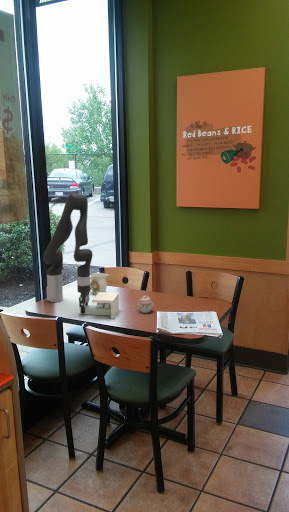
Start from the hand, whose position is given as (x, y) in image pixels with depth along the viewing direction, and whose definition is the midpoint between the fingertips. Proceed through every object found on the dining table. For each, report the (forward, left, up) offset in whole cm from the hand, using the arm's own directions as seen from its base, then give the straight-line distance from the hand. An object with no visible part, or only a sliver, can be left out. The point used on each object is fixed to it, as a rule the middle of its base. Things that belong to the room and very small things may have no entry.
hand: (84, 311), depth 240 cm
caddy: (+7, 0, -1) cm, 7 cm away
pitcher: (-2, +41, -1) cm, 41 cm away
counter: (+13, 0, -1) cm, 13 cm away
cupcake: (+35, +7, -1) cm, 35 cm away
